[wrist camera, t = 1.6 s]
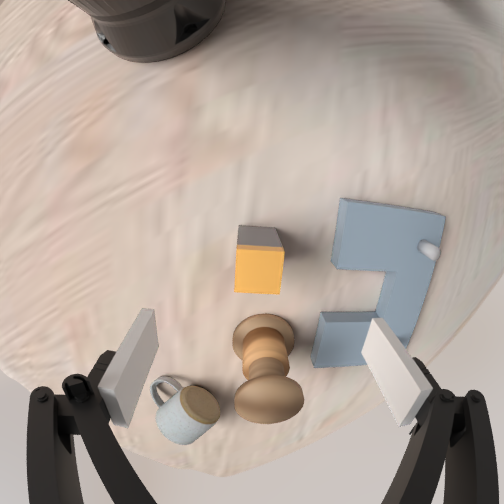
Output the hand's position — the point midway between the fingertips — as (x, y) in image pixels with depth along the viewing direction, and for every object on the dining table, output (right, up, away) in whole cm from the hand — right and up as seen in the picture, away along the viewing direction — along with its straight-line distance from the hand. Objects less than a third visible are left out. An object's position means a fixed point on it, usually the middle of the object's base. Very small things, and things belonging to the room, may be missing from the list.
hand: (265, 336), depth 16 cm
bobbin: (+1, -7, +20) cm, 21 cm away
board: (+15, 0, +18) cm, 24 cm away
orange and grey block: (0, +6, +16) cm, 17 cm away
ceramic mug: (-12, -18, +24) cm, 32 cm away
